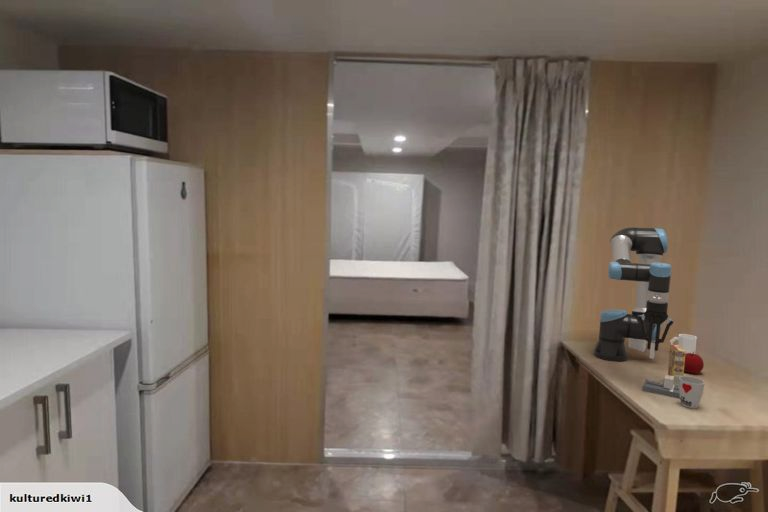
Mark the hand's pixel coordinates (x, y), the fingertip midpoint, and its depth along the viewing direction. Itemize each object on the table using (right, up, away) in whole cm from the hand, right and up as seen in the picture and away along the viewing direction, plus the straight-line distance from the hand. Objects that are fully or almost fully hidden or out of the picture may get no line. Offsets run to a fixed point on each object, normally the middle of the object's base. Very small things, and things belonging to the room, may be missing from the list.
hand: (651, 357), depth 200 cm
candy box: (+14, -13, +9) cm, 21 cm away
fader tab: (+5, -11, -3) cm, 13 cm away
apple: (+30, -12, +22) cm, 39 cm away
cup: (+6, -15, -15) cm, 22 cm away
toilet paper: (+24, -7, +58) cm, 63 cm away
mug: (+42, -9, +49) cm, 65 cm away
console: (+5, -13, -3) cm, 15 cm away
